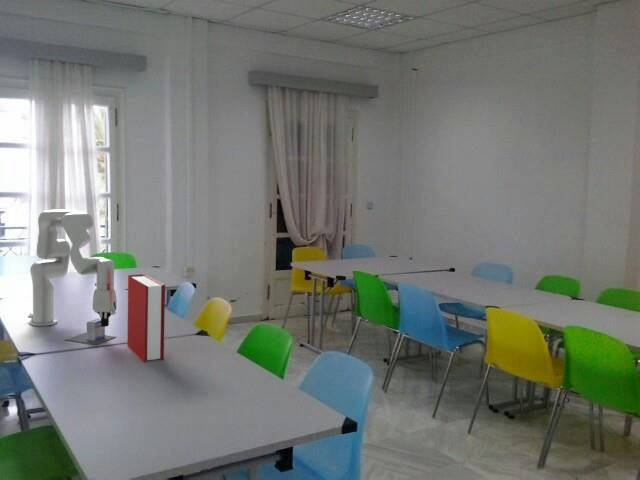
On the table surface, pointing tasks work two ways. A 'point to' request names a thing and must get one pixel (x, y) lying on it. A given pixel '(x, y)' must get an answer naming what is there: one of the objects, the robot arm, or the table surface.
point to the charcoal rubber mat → (83, 339)
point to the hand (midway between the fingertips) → (104, 326)
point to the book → (146, 317)
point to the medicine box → (95, 330)
